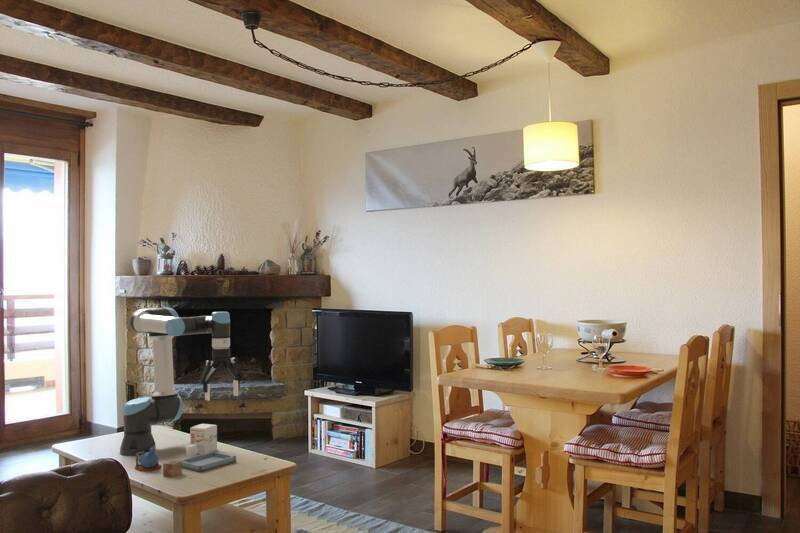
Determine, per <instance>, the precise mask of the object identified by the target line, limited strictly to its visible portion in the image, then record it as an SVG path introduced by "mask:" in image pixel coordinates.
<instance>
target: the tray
mask: <svg viewBox="0 0 800 533" xmlns="http://www.w3.org/2000/svg"><path fill="white" fill-rule="evenodd" d="M178 461H182V469H185V470H190V471H192V472H197V473H202V472H206V471H209V470H212V469H216V468H219V467H224V466H227V465H230V464H234V463H236V462H237V456H236V455H232V454H228V453H223V452H219V451H213V452H209V453H206V454H197V456H194V457H190V458H187V457H186V458H183V459H179V460H178Z"/></svg>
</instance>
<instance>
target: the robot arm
mask: <svg viewBox="0 0 800 533" xmlns="http://www.w3.org/2000/svg"><path fill="white" fill-rule="evenodd" d="M128 326H129V328H130V330H131V331H132V332H134V333H137V334H142V335H143V334H148V337H149V338H150V339H151V340H152V355H153V358H152V360H153V378H154V380H153V382H154V392H153V393H152V394H151V397H147V396H144V397H138V398H133V399H131V400H129V401H127V402H125V403H124V405H123V411H122V414H123V436H122V440H121V444H120V447H119V454H121V455H124V456H136V453H138V452H143V451H145V453H146V452H149V451H150V448H152V447H153V448H154V451H156V448H157V447H156V446H157V445H156V441H155V439H154V436H153V434H152V426H155V425H161V424H166V423H172V422H176V421H177V420H179V419H180V418H181V417H182V415H183V411H184V401H183V398H182V397H181V396H180V395H178V391H177V390H175V384H174V383H175V381H174V357H173V338H174V337H179V336H188V335H189V336H190V335H200V334H201V335H202V334H203V335H204V334H211V347H212V350H211V354H212V355H211V356H212V360H205V363H204V367H203V370H202V372H201V375H200V378H199V379H198V384H200V385H202V392H203V393H204V400H205V401H208V402H209V401H211V386H210V384H209V383H210V381H211V380H212V379H213V377H214V375H215V374H216V373H217V372H219V371H222V370H223V371H225V370H227V372H228V373H229V374H230V376H231V377H232V378H233V381H232V383H233V384H232V386H233V387H232V389H233V392H232V393H233V396H234V397H238V396H239V388H240V385H241V384H240V383H241V382H240V381H242V379H244V377H245V376H244V375H243V372H242V370H241V368H240V366H239V363H238V358H236V357H231V348H230V347H231V317H230V312H228V311H213V312H212V313H211V315H199V316H190V317H189V316H187V317H186V316H183V317H181V316H179V315H178V312H177V311H176V310H175V309H174V308H173V307H154V308H153V307H152V308H151V307H150V308H140V309H137V310H135V311H134V312H132V313H131V314H130V316H129V318H128ZM230 364H231V365H232V366H233V368H234V369H233V368H232V366H231V365H230ZM211 366H212V367H211Z"/></svg>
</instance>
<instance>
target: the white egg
mask: <svg viewBox="0 0 800 533" xmlns="http://www.w3.org/2000/svg"><path fill="white" fill-rule="evenodd" d="M194 456H198V454H197V445H196V444H191V445H190V444H188V445H186V459H187V458H190V457H194Z"/></svg>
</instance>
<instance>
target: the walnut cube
mask: <svg viewBox="0 0 800 533" xmlns="http://www.w3.org/2000/svg"><path fill="white" fill-rule="evenodd" d="M182 474H183V468H182V461H179V460H173V459H172V460H169V461H165V462H164V463H163V464H162V476H163V477H167V478H175V477H177V476H180V475H182Z"/></svg>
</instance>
